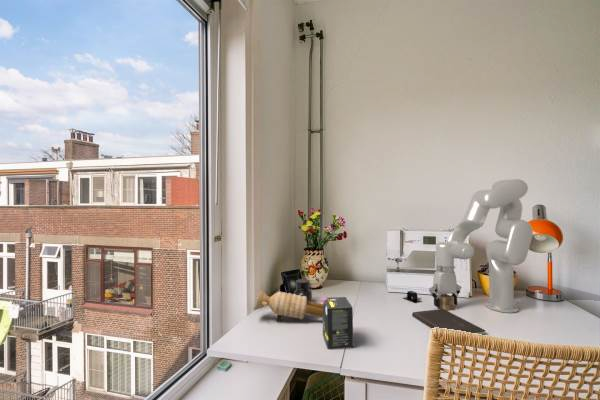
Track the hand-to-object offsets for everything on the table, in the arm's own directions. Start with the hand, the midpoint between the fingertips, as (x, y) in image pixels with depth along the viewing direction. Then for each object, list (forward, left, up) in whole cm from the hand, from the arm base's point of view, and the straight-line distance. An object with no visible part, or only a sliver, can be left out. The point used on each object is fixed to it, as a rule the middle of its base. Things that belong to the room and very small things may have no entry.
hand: (445, 305), depth 139 cm
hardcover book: (+13, +15, -2) cm, 20 cm away
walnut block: (0, 0, -2) cm, 2 cm away
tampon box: (+61, +16, -2) cm, 63 cm away
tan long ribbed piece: (+72, -7, -2) cm, 73 cm away
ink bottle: (+63, -24, -2) cm, 67 cm away
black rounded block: (+7, -15, -2) cm, 17 cm away
